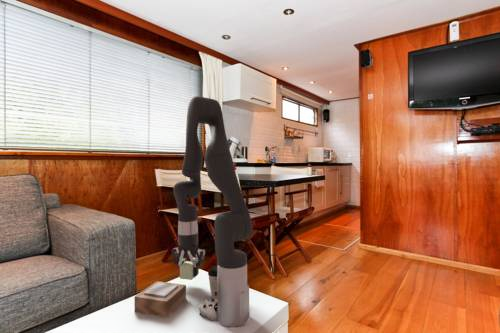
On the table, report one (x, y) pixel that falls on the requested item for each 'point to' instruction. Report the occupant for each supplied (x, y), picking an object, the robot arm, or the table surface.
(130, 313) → the table surface
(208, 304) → the game controller
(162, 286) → the walnut plinth
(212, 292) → the coffee cup
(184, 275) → the sage cube
